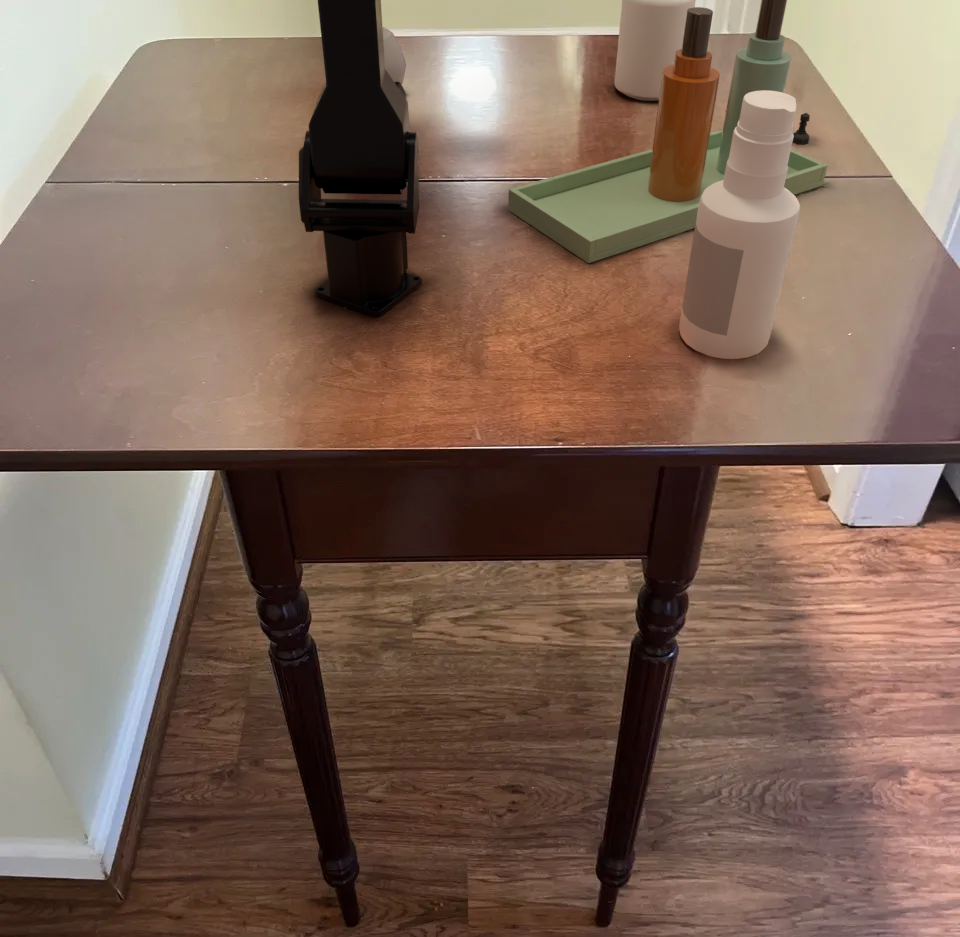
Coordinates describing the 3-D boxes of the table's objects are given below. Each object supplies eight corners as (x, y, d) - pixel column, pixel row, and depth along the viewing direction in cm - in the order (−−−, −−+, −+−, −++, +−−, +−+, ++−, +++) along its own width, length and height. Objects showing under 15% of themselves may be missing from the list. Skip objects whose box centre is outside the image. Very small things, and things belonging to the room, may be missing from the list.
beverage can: (629, 106, 110) (641, -7, 102) (603, 82, 116) (613, -26, 108) (693, 100, 112) (710, -12, 104) (665, 77, 118) (679, -31, 110)
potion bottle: (404, 109, 109) (396, -69, 97) (326, 108, 109) (308, -70, 97) (410, 83, 116) (403, -87, 104) (336, 81, 116) (321, -88, 104)
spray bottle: (697, 304, 77) (737, 74, 65) (780, 328, 74) (837, 93, 63) (664, 344, 73) (701, 105, 61) (751, 371, 70) (807, 127, 58)
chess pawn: (813, 140, 103) (819, 112, 101) (803, 146, 102) (809, 117, 100) (796, 135, 104) (803, 107, 102) (786, 140, 103) (792, 112, 101)
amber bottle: (688, 206, 89) (717, 22, 79) (639, 193, 91) (660, 13, 81) (708, 187, 92) (738, 8, 82) (660, 175, 94) (684, -1, 84)
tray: (588, 263, 82) (590, 241, 81) (507, 210, 90) (508, 188, 88) (822, 185, 94) (828, 165, 93) (734, 144, 102) (737, 124, 101)
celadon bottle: (757, 184, 93) (793, 6, 82) (708, 172, 95) (738, -3, 84) (774, 166, 96) (811, -8, 86) (727, 155, 98) (757, -16, 88)
